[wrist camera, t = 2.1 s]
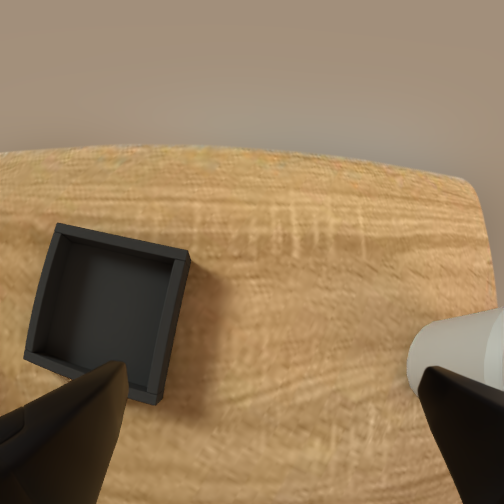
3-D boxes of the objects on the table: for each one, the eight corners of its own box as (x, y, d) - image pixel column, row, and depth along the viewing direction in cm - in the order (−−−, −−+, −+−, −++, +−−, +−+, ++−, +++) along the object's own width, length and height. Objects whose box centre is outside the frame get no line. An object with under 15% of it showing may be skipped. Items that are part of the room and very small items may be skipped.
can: (431, 304, 26) (529, 274, 15) (472, 353, 25) (567, 343, 14) (385, 370, 24) (486, 375, 13) (433, 416, 23) (530, 435, 12)
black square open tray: (162, 399, 22) (155, 406, 19) (39, 358, 21) (23, 358, 19) (191, 259, 25) (188, 250, 23) (70, 233, 25) (56, 222, 22)
